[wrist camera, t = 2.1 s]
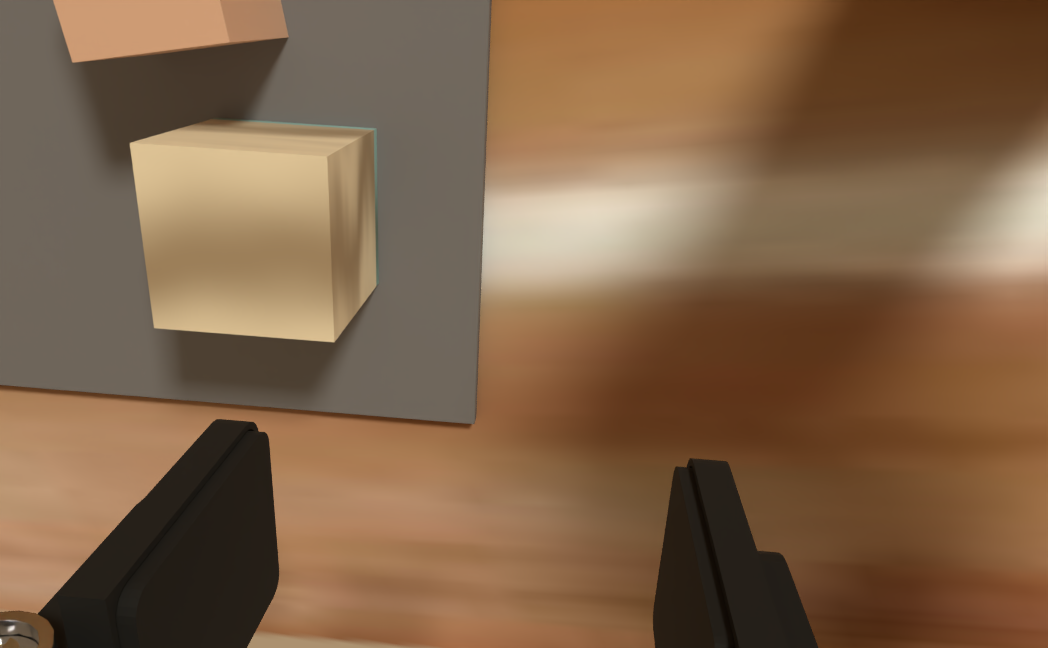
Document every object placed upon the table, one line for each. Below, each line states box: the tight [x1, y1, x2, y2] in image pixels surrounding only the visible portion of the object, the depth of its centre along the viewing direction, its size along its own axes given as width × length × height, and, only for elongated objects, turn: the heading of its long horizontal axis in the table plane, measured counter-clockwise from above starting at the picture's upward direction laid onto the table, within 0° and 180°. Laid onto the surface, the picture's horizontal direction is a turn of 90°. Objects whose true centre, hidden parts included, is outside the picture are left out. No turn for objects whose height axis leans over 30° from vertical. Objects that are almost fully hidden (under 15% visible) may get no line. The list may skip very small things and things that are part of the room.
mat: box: [0, 0, 492, 424], centre depth 30 cm, size 18×28×1 cm, turn 87°
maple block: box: [130, 118, 379, 342], centre depth 27 cm, size 6×6×6 cm
